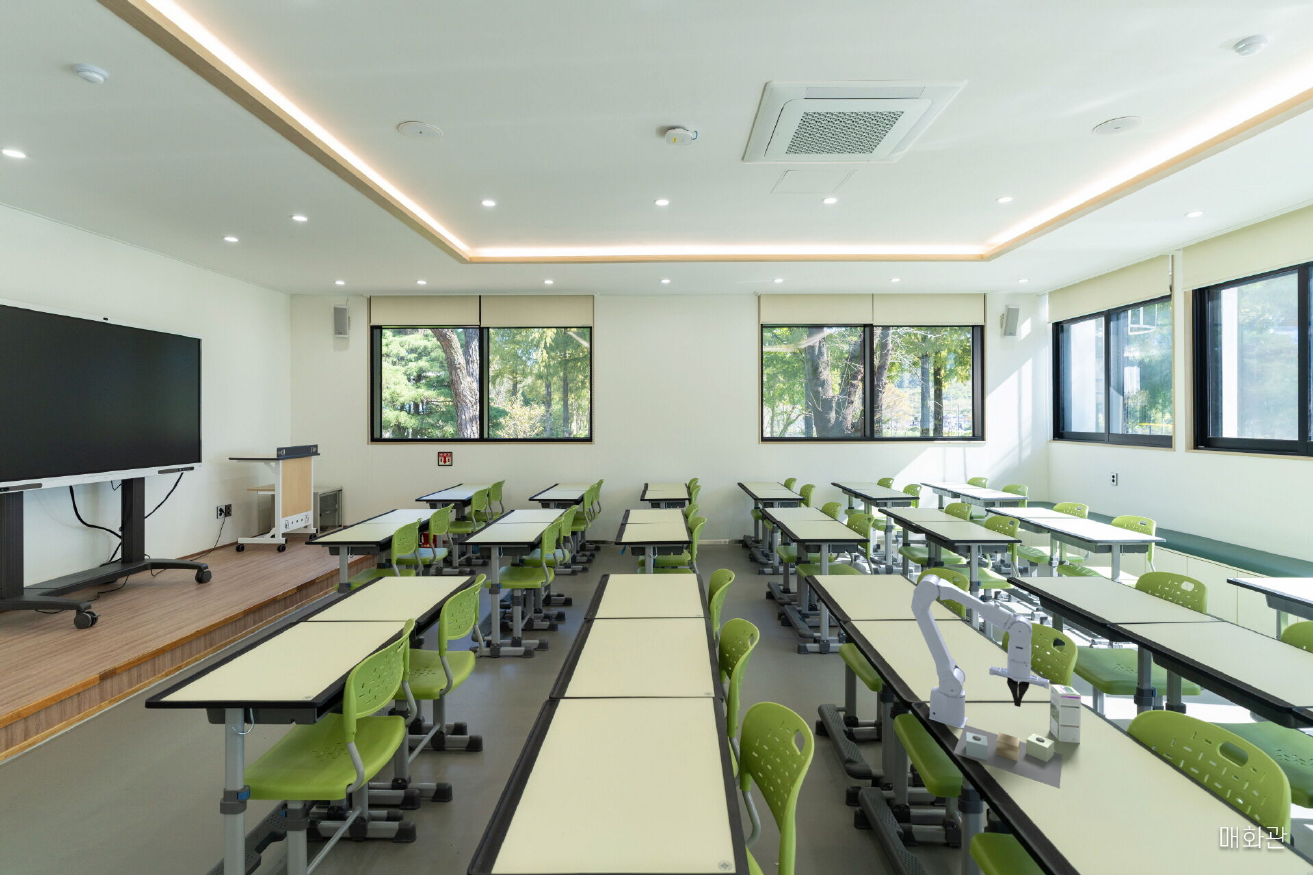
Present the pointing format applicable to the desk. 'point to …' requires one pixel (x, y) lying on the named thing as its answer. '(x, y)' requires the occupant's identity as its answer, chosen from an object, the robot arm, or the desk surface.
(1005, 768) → the rubber mat
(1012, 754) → the beech block
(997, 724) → the desk surface
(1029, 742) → the sage dotted block
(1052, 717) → the syrup box
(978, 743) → the slate dotted block
